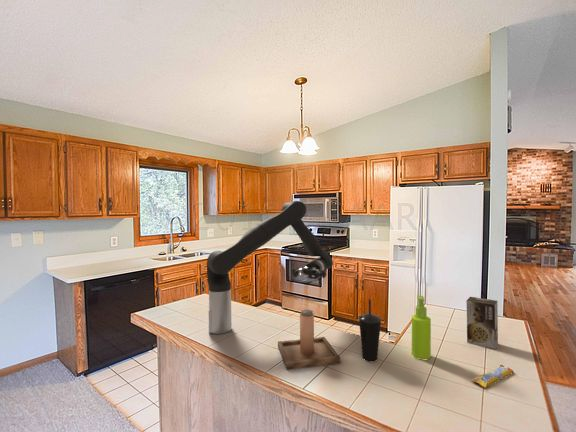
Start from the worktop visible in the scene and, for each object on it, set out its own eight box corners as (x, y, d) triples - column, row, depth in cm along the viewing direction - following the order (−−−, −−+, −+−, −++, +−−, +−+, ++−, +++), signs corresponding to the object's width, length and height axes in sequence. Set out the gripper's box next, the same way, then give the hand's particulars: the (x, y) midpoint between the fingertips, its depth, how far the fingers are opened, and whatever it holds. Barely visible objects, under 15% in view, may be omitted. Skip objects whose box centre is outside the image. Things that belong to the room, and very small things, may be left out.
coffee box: (498, 343, 108) (498, 300, 108) (495, 350, 104) (495, 304, 104) (470, 336, 115) (470, 295, 114) (466, 342, 110) (466, 299, 110)
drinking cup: (383, 365, 94) (382, 303, 94) (358, 362, 96) (358, 302, 96) (380, 353, 102) (380, 296, 102) (358, 351, 103) (357, 295, 103)
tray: (286, 369, 92) (286, 363, 92) (277, 347, 108) (277, 341, 108) (340, 363, 96) (340, 357, 96) (324, 342, 111) (324, 336, 111)
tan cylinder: (298, 353, 100) (298, 313, 100) (302, 347, 105) (302, 308, 105) (312, 355, 99) (311, 314, 99) (315, 349, 103) (315, 310, 103)
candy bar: (500, 368, 92) (500, 362, 92) (515, 375, 89) (515, 369, 89) (468, 383, 85) (468, 377, 85) (484, 391, 81) (484, 384, 81)
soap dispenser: (429, 351, 103) (428, 295, 103) (431, 361, 96) (431, 300, 96) (411, 349, 105) (410, 293, 105) (412, 358, 98) (412, 299, 98)
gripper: (299, 259, 135) (288, 264, 120) (330, 261, 130) (322, 267, 115) (299, 275, 135) (288, 283, 120) (329, 278, 130) (322, 286, 115)
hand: (304, 275), depth 117 cm, fingers open, 8 cm apart
